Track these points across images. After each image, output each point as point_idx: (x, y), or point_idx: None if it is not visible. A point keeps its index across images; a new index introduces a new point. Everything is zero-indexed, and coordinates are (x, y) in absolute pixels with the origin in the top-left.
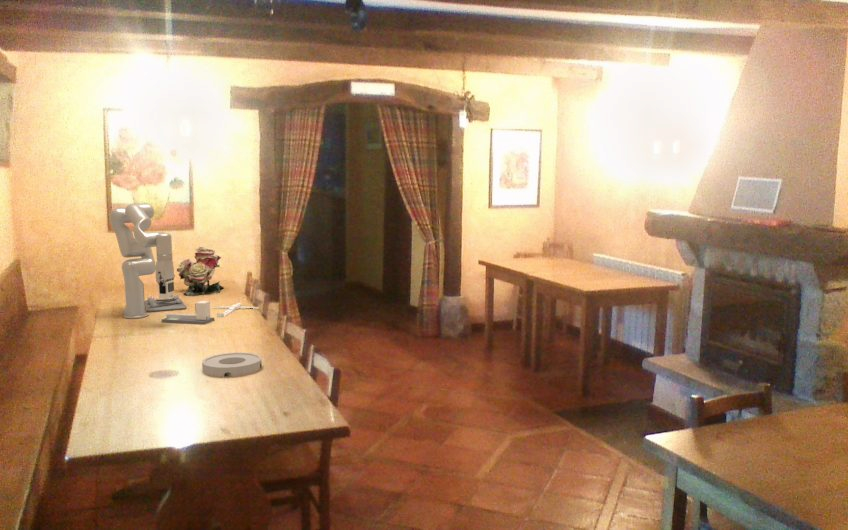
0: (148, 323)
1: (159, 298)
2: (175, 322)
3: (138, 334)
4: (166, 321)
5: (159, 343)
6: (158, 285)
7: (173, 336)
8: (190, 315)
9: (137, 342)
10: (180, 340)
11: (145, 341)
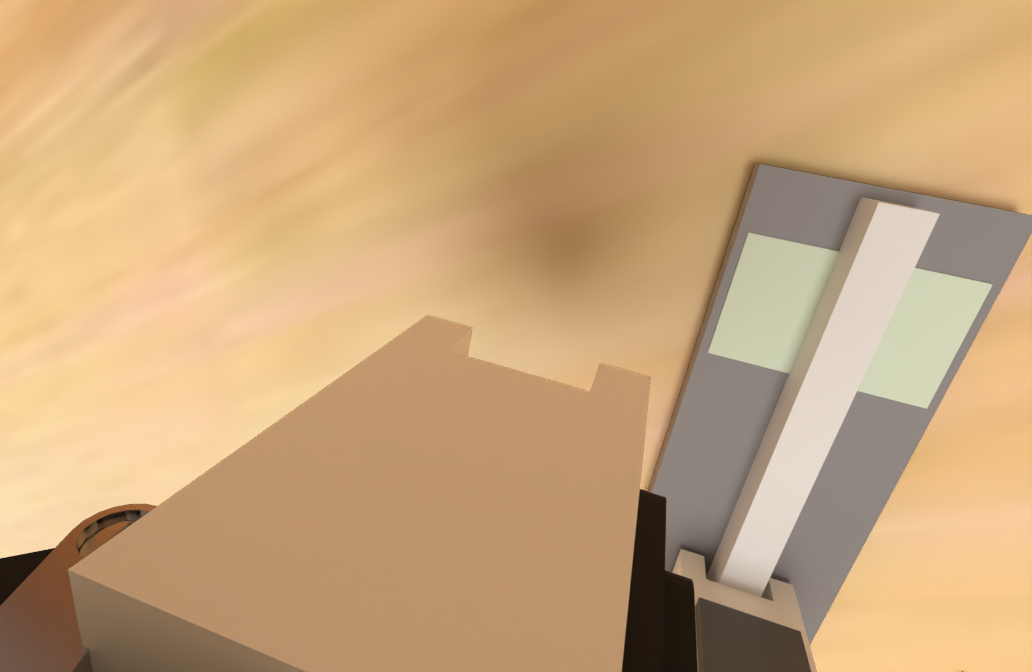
0: (709, 8)
1: (423, 324)
2: (699, 338)
3: (224, 153)
4: (735, 231)
5: (70, 403)
6: (212, 467)
7: (228, 442)
8: (748, 512)
9: (43, 257)
10: (157, 502)
11: (78, 301)
